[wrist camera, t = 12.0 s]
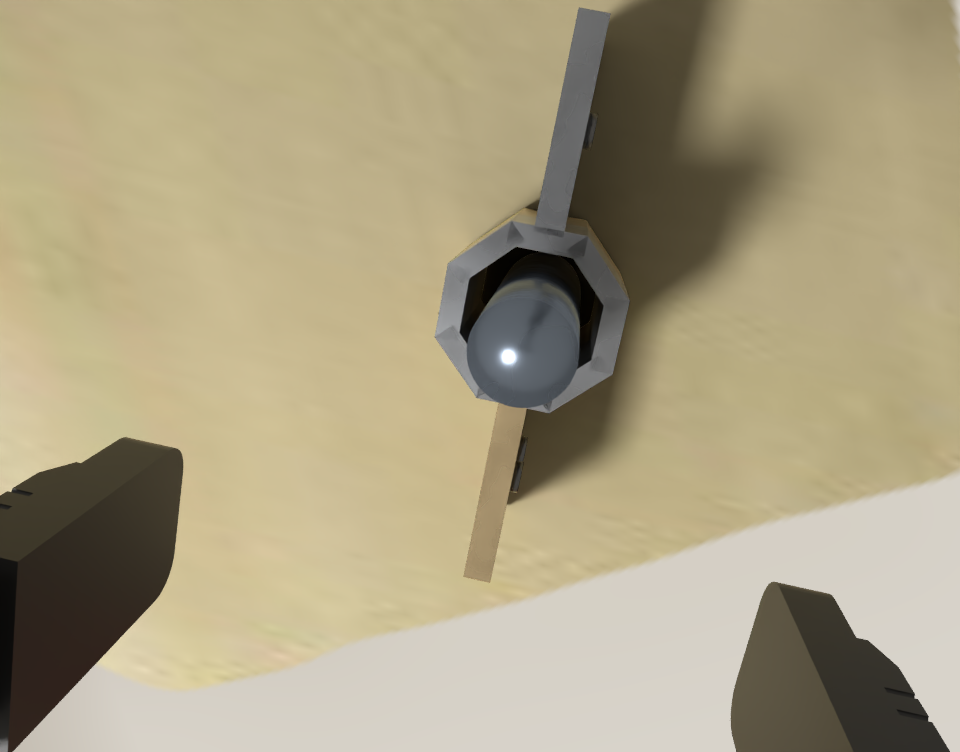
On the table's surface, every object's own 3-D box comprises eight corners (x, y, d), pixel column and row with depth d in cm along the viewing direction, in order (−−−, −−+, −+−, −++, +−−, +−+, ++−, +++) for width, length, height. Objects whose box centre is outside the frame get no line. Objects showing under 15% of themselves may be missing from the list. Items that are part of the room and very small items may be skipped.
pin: (551, 236, 36) (535, 275, 25) (596, 300, 37) (601, 367, 25) (488, 282, 37) (444, 340, 25) (532, 343, 37) (509, 428, 26)
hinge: (512, 23, 34) (496, -8, 28) (671, 53, 34) (694, 29, 27) (426, 491, 40) (394, 561, 33) (563, 521, 39) (560, 598, 32)
